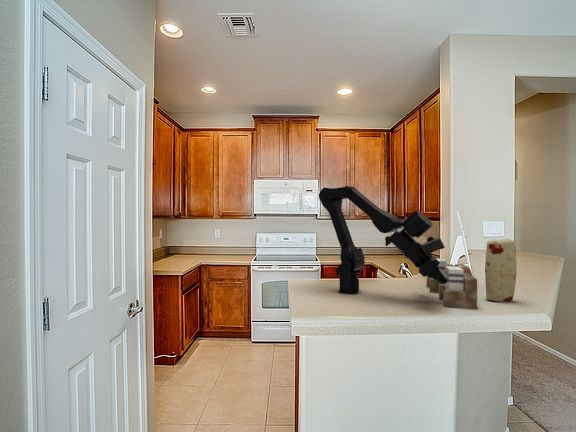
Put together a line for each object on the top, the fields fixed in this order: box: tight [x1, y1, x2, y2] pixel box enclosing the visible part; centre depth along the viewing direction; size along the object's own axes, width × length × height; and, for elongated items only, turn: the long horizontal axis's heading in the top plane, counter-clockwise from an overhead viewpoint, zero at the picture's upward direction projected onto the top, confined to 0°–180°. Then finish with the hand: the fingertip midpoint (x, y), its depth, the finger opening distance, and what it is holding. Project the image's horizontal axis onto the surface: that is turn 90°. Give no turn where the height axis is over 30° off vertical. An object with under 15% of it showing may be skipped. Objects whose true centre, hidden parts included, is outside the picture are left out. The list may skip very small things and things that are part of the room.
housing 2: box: [438, 273, 478, 310], centre depth 102 cm, size 9×10×9 cm
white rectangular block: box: [445, 265, 464, 291], centre depth 103 cm, size 4×6×11 cm
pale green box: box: [432, 257, 447, 279], centre depth 120 cm, size 4×6×11 cm
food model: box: [484, 238, 518, 303], centre depth 106 cm, size 10×7×20 cm
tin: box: [453, 263, 473, 276], centre depth 125 cm, size 15×3×8 cm, turn 168°
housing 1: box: [426, 263, 455, 294], centre depth 120 cm, size 9×10×9 cm
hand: (446, 282), depth 103 cm, fingers closed, pressing on white rectangular block
